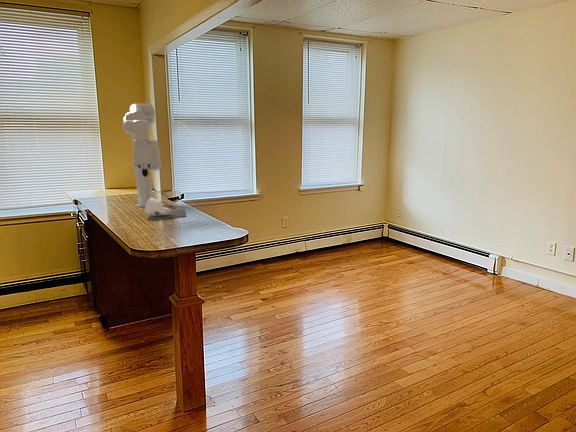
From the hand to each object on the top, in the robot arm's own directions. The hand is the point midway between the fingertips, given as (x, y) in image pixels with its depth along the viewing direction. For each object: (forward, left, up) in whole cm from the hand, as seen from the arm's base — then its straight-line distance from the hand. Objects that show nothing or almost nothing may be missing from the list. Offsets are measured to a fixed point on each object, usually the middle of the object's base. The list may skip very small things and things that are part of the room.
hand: (145, 176), depth 240 cm
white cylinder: (+2, 0, -16) cm, 16 cm away
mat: (0, +10, -23) cm, 25 cm away
